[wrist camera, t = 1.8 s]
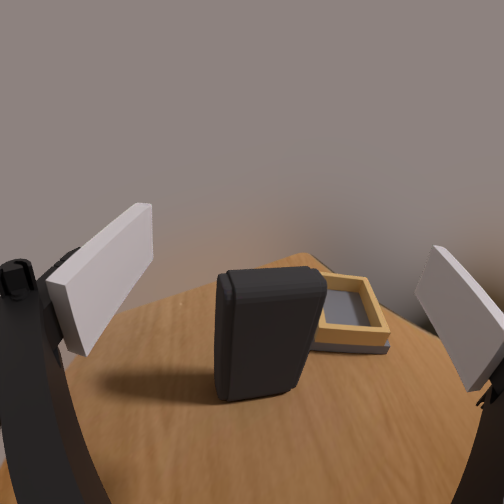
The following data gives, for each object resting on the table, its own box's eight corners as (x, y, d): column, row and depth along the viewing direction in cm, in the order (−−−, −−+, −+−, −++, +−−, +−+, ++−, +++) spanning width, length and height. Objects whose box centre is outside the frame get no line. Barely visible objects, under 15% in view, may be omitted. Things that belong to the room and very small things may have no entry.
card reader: (286, 367, 34) (314, 259, 28) (298, 392, 31) (335, 283, 24) (211, 378, 32) (216, 264, 25) (218, 406, 28) (225, 292, 22)
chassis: (365, 297, 50) (372, 278, 48) (386, 353, 37) (396, 332, 35) (252, 284, 50) (254, 263, 48) (243, 342, 38) (246, 319, 36)
